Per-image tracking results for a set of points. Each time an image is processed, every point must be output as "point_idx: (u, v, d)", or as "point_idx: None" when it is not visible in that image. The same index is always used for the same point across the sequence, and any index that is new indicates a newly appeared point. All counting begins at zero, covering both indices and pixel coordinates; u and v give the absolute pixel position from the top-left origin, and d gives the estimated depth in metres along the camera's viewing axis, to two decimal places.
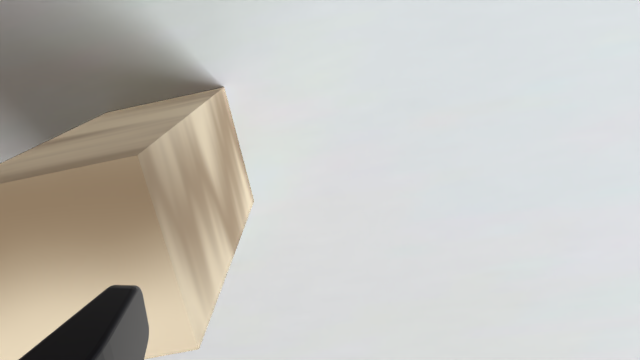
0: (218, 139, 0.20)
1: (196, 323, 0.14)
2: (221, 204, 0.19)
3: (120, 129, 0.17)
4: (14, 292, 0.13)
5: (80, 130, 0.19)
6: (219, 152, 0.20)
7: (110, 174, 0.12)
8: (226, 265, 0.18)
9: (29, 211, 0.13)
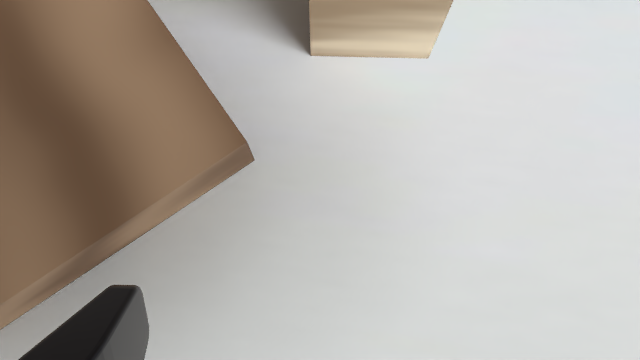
0: None
1: None
2: None
3: None
4: None
5: None
6: None
7: None
8: None
9: None
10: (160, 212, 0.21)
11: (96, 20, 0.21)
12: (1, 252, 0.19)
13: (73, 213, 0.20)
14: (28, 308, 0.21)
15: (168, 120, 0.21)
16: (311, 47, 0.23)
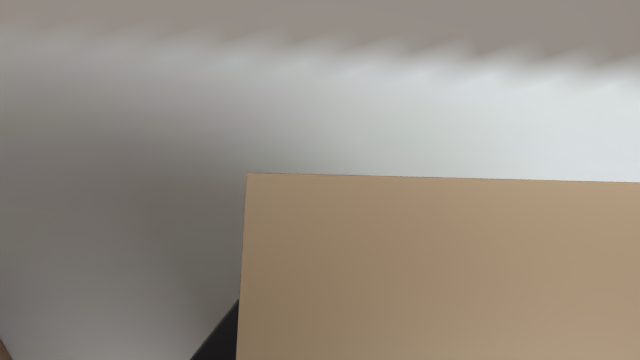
0: None
1: None
2: None
3: None
4: None
5: None
6: None
7: None
8: None
9: (510, 267, 0.05)
10: None
11: None
12: None
13: None
14: None
15: None
16: None
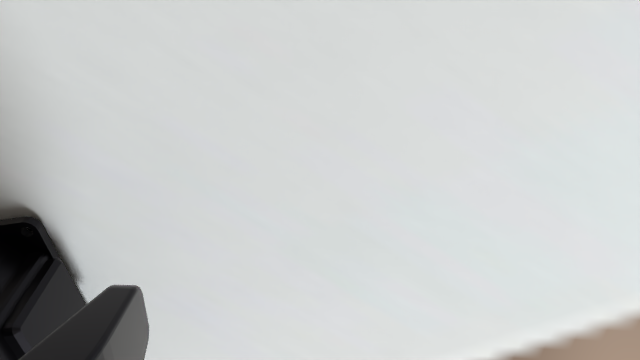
0: None
1: None
2: None
3: None
4: None
5: None
6: None
7: None
8: None
9: None
10: None
11: None
12: None
13: None
14: None
15: None
16: None
